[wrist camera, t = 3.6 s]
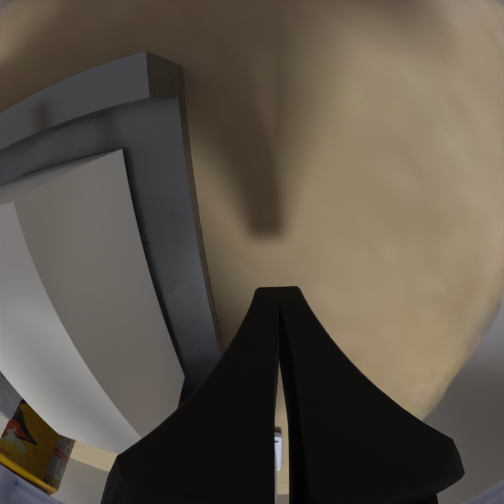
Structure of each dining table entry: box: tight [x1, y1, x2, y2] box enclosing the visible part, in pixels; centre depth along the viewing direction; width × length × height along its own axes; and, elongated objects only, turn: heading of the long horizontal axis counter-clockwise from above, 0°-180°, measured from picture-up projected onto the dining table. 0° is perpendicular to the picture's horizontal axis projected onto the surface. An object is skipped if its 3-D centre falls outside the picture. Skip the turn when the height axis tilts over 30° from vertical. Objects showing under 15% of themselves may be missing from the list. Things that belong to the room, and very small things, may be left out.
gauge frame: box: [0, 51, 224, 420], centre depth 10 cm, size 16×18×6 cm
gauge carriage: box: [0, 149, 185, 454], centre depth 8 cm, size 14×6×5 cm, turn 4°
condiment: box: [0, 398, 76, 496], centre depth 14 cm, size 7×8×12 cm
